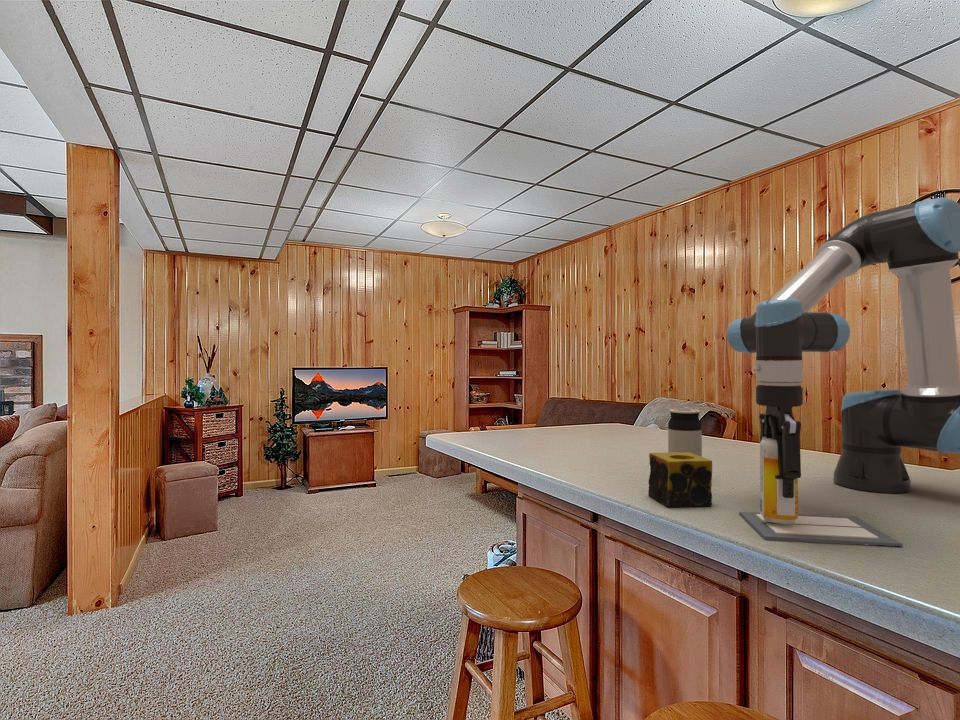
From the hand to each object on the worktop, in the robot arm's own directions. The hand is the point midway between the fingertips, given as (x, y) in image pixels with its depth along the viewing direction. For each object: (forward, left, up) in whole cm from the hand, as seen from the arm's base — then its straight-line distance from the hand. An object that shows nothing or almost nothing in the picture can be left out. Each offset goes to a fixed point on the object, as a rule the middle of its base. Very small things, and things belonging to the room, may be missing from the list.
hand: (779, 509), depth 98 cm
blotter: (-6, 0, -3) cm, 7 cm away
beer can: (0, 0, -2) cm, 2 cm away
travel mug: (+10, -37, -4) cm, 38 cm away
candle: (+15, -16, -4) cm, 22 cm away
